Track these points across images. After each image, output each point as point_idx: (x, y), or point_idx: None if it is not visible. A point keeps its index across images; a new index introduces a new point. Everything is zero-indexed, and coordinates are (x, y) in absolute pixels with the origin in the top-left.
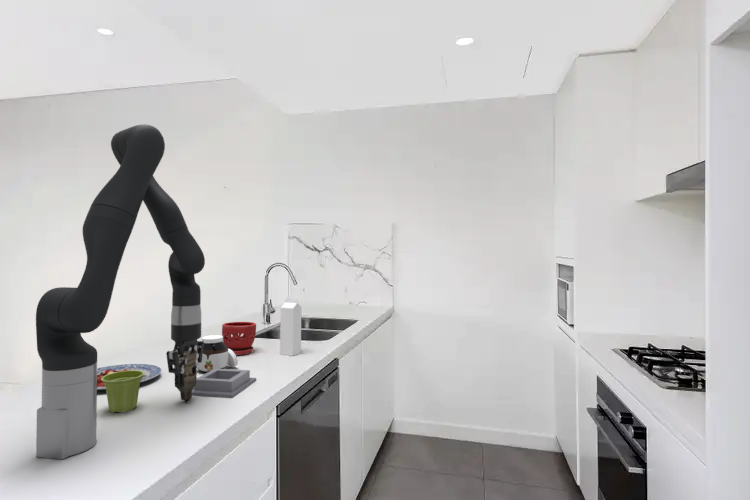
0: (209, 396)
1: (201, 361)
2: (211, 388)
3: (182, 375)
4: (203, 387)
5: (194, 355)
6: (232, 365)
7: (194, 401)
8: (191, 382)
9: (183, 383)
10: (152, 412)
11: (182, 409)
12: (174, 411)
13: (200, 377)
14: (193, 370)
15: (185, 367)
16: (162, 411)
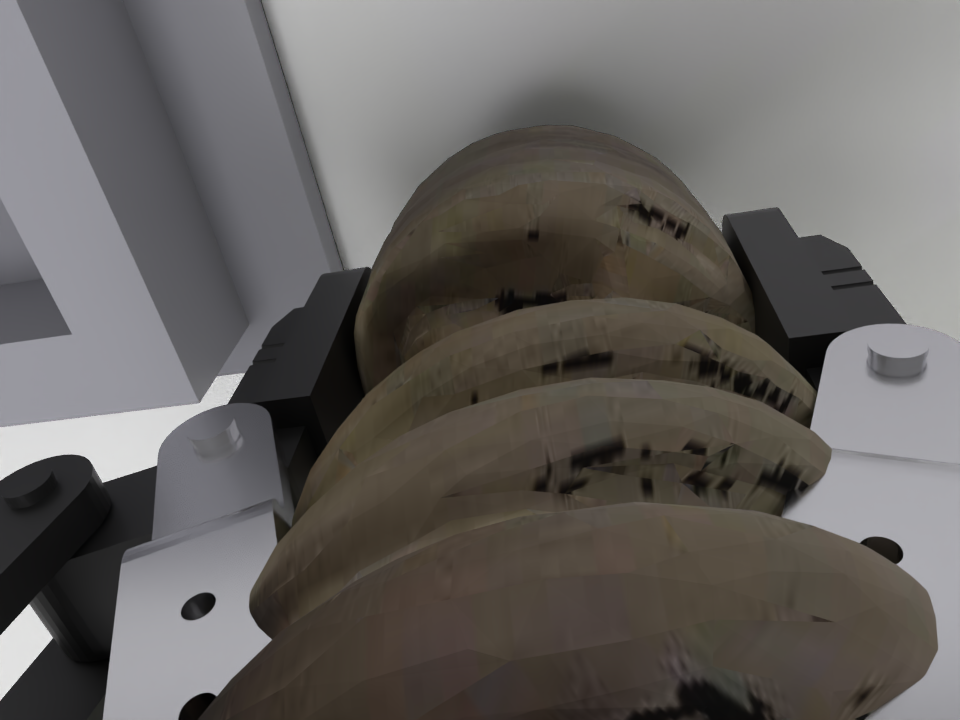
0: (263, 13)
1: (21, 470)
2: (135, 90)
3: (842, 312)
4: (185, 219)
5: (576, 541)
6: None
7: (499, 83)
8: (620, 149)
9: (755, 230)
10: (955, 297)
11: (813, 15)
12: (900, 68)
13: (82, 389)
14: (338, 391)
15: (784, 412)
16: (914, 215)
